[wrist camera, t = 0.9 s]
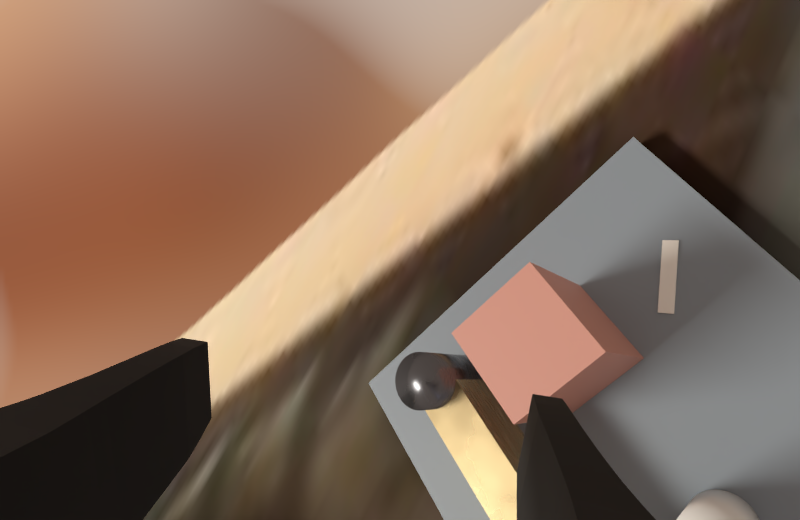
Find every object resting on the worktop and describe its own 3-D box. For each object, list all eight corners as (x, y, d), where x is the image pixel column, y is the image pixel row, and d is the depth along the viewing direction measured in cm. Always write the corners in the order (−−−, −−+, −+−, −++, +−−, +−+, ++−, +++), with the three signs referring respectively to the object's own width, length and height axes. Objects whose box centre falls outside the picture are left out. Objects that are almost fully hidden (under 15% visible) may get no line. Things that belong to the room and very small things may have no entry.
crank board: (1155, 593, 15) (1287, 668, 11) (627, 822, 21) (591, 924, 17) (638, 144, 25) (611, 101, 21) (379, 382, 31) (321, 383, 27)
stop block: (644, 357, 22) (605, 352, 17) (568, 415, 23) (513, 424, 19) (580, 285, 24) (529, 261, 19) (514, 342, 25) (451, 332, 21)
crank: (742, 688, 18) (732, 759, 15) (637, 739, 20) (607, 815, 16) (485, 332, 26) (439, 325, 23) (422, 387, 28) (371, 388, 24)
